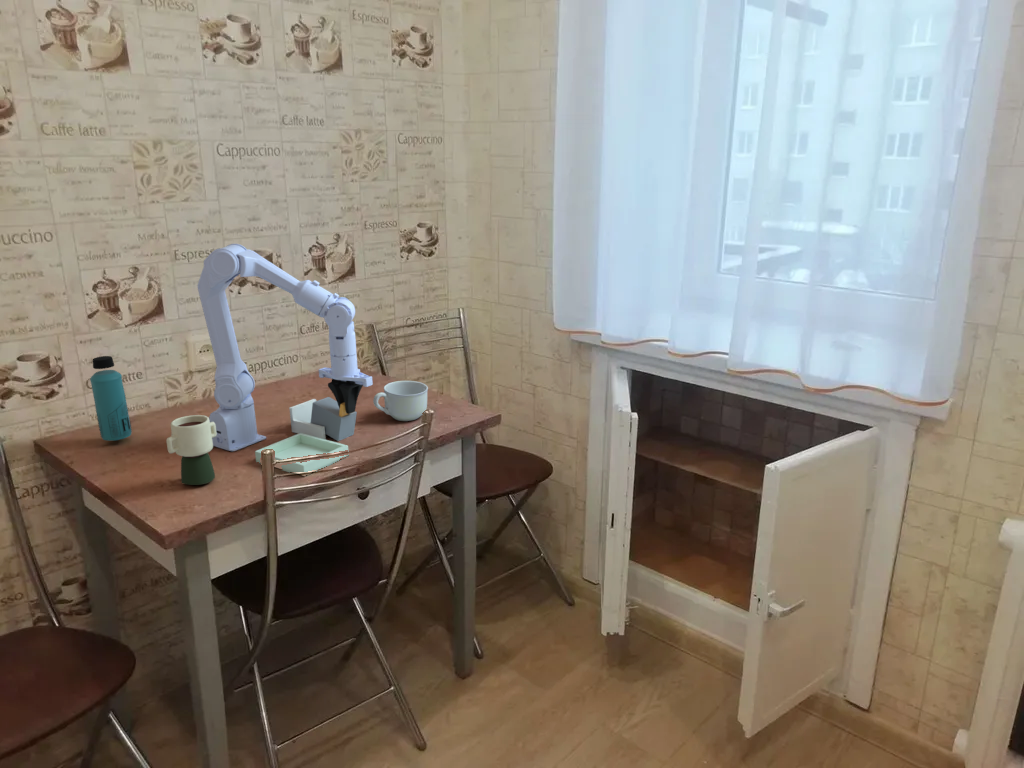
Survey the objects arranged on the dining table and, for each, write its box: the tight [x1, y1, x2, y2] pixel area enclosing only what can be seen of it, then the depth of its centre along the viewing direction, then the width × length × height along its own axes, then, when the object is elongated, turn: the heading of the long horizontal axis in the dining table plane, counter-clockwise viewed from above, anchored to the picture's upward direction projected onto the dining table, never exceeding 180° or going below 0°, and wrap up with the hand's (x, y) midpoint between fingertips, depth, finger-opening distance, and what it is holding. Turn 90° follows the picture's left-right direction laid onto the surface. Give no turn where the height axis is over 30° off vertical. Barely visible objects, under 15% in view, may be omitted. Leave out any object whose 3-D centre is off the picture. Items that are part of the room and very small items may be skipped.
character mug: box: [166, 414, 217, 486], centre depth 145 cm, size 11×7×13 cm, turn 150°
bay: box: [288, 398, 327, 440], centre depth 173 cm, size 8×10×6 cm
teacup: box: [373, 380, 429, 422], centre depth 181 cm, size 14×11×8 cm
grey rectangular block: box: [311, 396, 358, 442], centre depth 169 cm, size 5×9×9 cm, turn 58°
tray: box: [254, 433, 350, 473], centre depth 157 cm, size 13×15×2 cm
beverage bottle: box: [89, 355, 133, 442], centre depth 165 cm, size 6×7×20 cm
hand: (347, 411), depth 167 cm, fingers closed, pressing on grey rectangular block
